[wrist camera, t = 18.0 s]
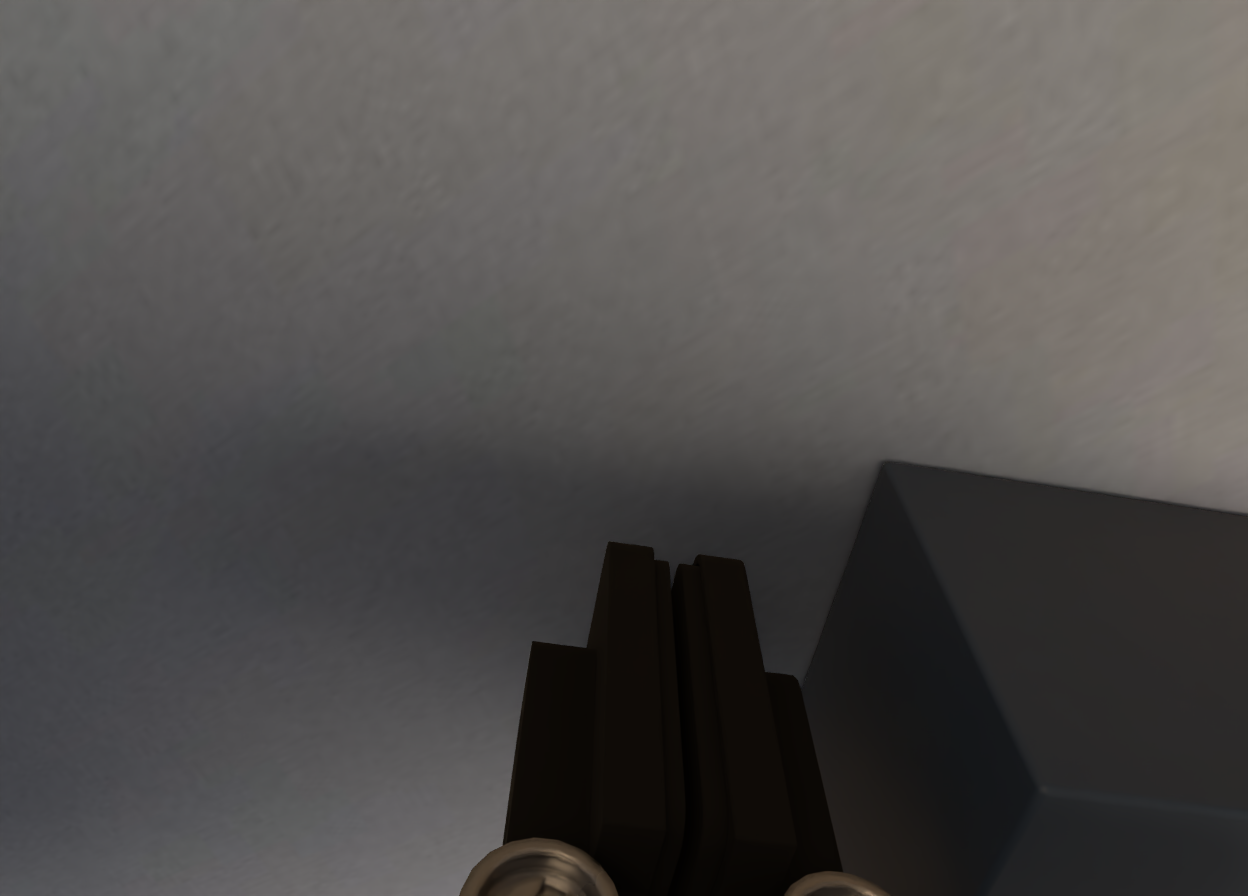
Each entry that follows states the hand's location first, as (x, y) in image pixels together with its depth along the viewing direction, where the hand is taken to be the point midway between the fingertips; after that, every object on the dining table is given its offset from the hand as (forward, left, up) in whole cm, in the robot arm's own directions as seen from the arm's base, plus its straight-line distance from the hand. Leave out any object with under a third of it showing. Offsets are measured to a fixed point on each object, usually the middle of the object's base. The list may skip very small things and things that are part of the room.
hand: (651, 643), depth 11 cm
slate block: (+5, 0, -1) cm, 5 cm away
